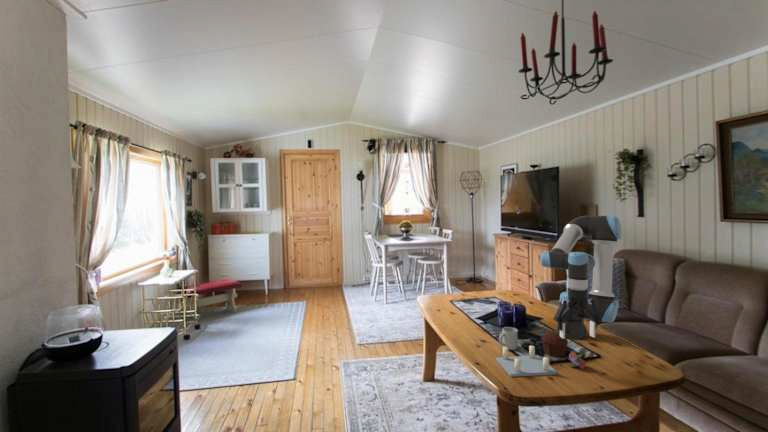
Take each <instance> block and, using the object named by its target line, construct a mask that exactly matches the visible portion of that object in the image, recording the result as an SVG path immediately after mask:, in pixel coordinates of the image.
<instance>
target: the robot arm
mask: <svg viewBox="0 0 768 432" xmlns="http://www.w3.org/2000/svg"><path fill="white" fill-rule="evenodd" d="M621 226H622V225H621V222H620V219H619V218H618V216H615V215H581V216H578V217H576V218H574V219H572V220H570V221H569V222H568V223H567V224H566V225H565V226H564V227H563V231H562V234H561V236H560V237H559V238H558V240H557V241H556V243H555V244H554V246H553V247H552V249H551V250H550V251H543V252H542V253H541V255H540V264H541V266H542V267H544V268H548V269H549V268H550V269H556V270H557V269H559V270H567V271H568V273H567V286H568V289H567V291H563V292H561V293H560V295H559V301H558V302H559V306H558V308H557V311H556V313H555V314H554V317H553V321H555V322H557V325H556V327H555V332H559V333H560V337H561V338H563V339H565V338H566V339H570V340H585V339H587V338H588V336H590V337H592V338H593V339H594V338H596V330H597V329H598V323H599V322H602V323H603V322H604V323H613V322H614V321H615V320H616V317H617V314H618V311H619V300H617V299H615V298H616V296H615V295H614V294H613V292H612V288H613V269H614V268H613V267H614V266H613V265H614V264H613V263H614V246H615V245H616V244H618V240H620V239H621V238H622V227H621ZM582 238H591V239H590V241H591V242H592V243H593V244H594V245H593V255H592V254H589V253H586V252H584V251H572V249H573V248H574V246H575V245H576V243H577V241H578V240H580V239H582ZM591 270H592V283H591V284H592V285H591V290H590V291H588V289H589V272H590V271H591ZM585 319H587V320H589V333H588V330H587V328H586V324H585Z"/></svg>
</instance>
